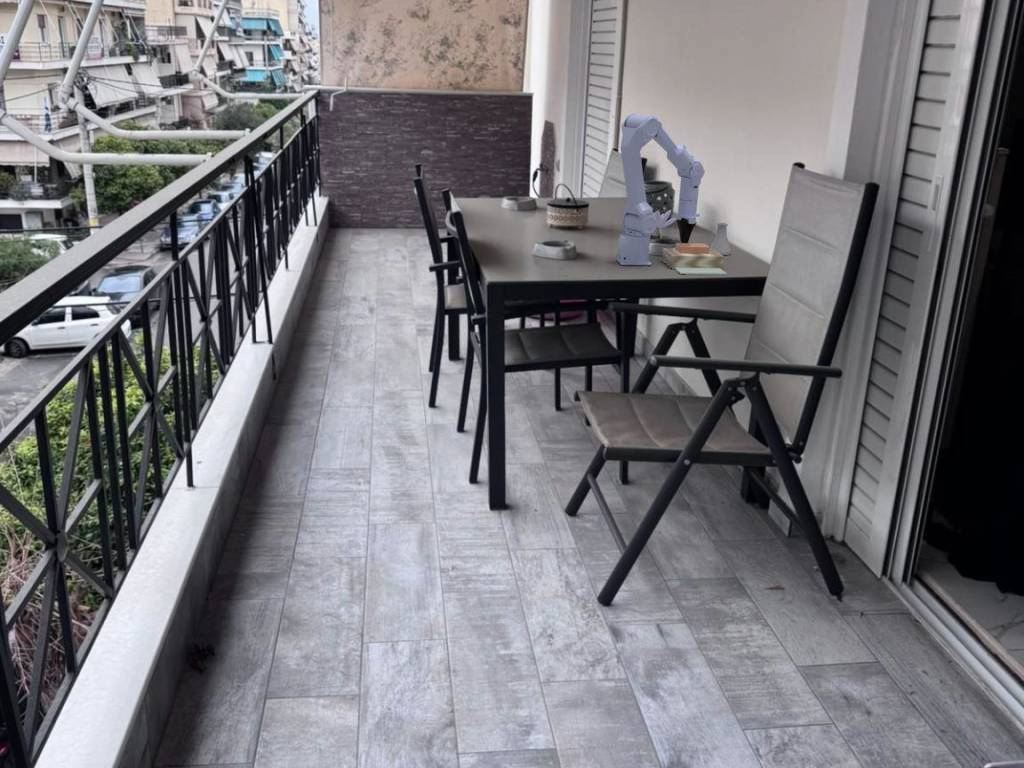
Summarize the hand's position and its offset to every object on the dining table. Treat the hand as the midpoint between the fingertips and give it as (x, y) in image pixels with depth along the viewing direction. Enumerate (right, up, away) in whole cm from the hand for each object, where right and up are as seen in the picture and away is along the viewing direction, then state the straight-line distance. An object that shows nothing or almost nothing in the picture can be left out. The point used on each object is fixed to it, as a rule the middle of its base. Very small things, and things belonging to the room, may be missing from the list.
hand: (684, 242), depth 292 cm
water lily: (-4, +7, +33) cm, 34 cm away
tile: (+1, -4, -9) cm, 10 cm away
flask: (+13, -2, +9) cm, 16 cm away
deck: (+1, -8, -9) cm, 12 cm away
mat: (+1, -11, -18) cm, 21 cm away
